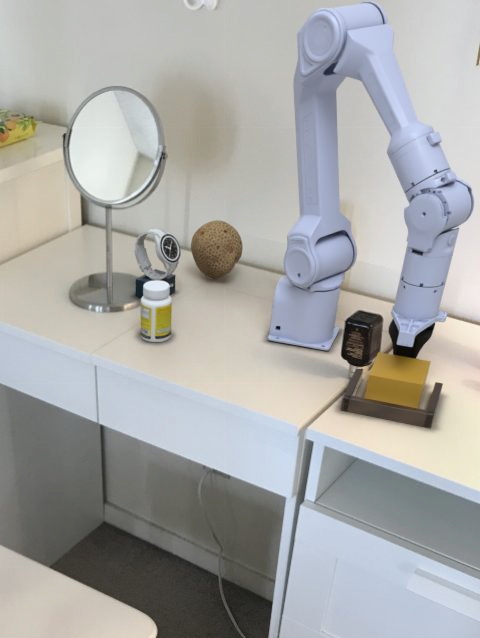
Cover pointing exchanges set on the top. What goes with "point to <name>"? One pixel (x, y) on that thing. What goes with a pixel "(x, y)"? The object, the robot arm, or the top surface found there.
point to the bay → (389, 405)
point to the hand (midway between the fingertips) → (401, 371)
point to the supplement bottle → (156, 311)
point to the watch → (167, 255)
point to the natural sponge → (216, 248)
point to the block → (397, 379)
